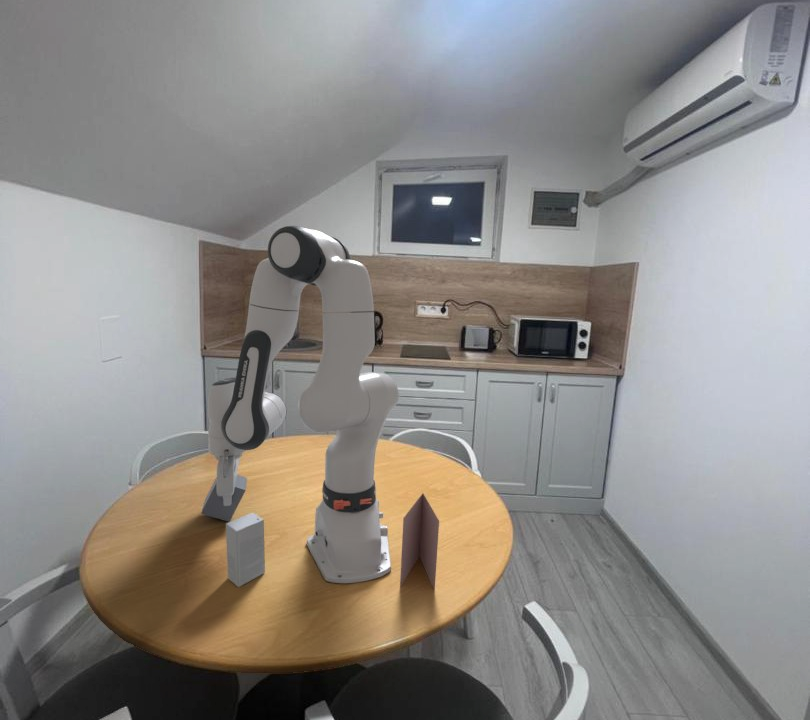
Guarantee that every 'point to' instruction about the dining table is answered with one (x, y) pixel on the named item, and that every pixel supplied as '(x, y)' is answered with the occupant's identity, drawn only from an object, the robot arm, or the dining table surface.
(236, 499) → the balanced grey cube
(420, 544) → the greeting card
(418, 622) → the dining table surface
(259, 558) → the skincare box
